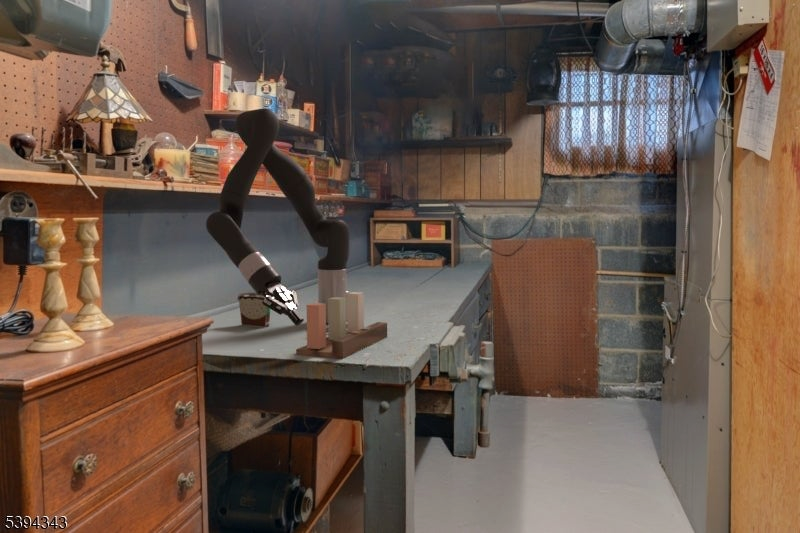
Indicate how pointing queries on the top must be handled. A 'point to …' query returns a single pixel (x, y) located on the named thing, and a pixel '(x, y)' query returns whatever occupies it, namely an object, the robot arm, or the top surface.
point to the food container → (253, 310)
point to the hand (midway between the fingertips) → (300, 323)
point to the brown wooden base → (348, 342)
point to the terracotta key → (316, 325)
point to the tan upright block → (355, 311)
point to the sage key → (336, 317)
